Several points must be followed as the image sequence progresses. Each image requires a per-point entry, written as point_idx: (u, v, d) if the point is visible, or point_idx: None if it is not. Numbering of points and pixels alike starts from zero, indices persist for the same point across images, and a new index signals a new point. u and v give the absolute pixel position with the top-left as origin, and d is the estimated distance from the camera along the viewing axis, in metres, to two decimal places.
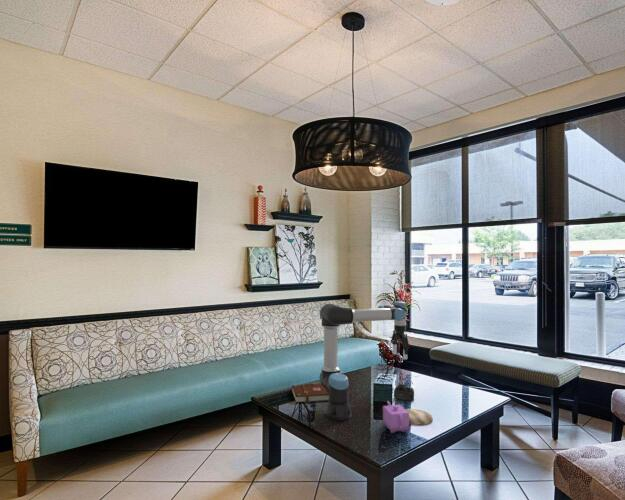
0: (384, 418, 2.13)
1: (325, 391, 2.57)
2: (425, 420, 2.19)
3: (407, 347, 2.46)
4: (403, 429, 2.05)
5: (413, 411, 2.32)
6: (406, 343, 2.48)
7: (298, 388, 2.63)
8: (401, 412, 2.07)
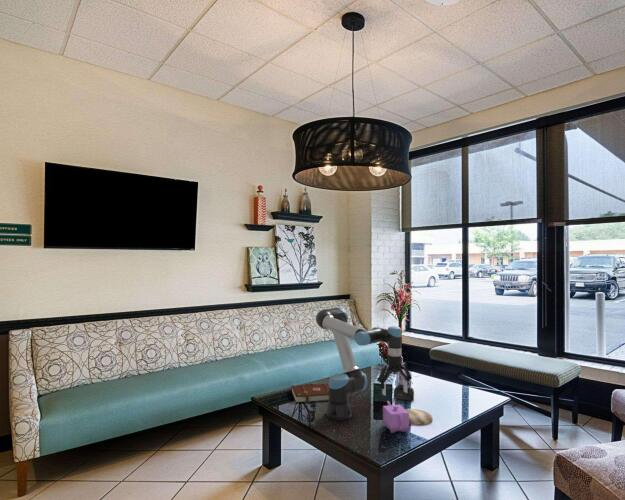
0: (384, 418, 2.13)
1: (324, 391, 2.57)
2: (425, 420, 2.19)
3: (378, 379, 2.10)
4: (403, 429, 2.05)
5: (413, 411, 2.32)
6: (380, 375, 2.11)
7: (298, 388, 2.63)
8: (401, 412, 2.07)
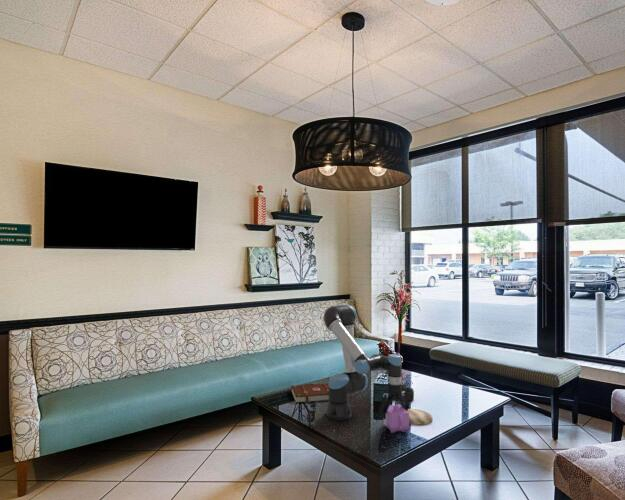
0: None
1: (324, 391, 2.57)
2: (425, 420, 2.19)
3: (380, 409, 2.10)
4: (403, 429, 2.05)
5: (413, 411, 2.32)
6: (381, 405, 2.10)
7: (297, 388, 2.63)
8: (401, 412, 2.07)
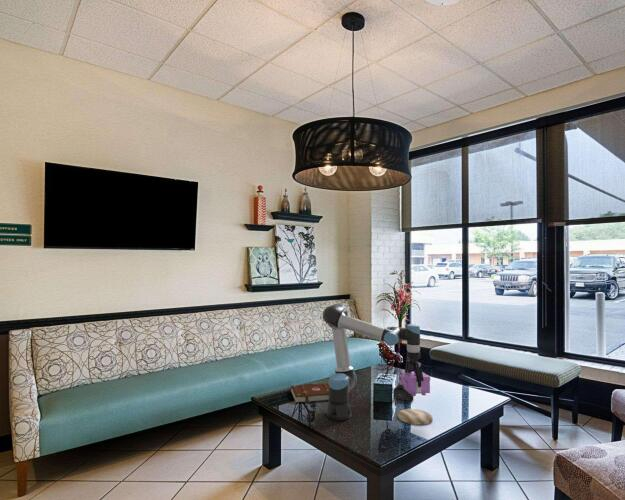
0: (414, 388, 2.19)
1: (324, 391, 2.57)
2: (425, 420, 2.19)
3: (420, 379, 2.16)
4: None
5: (413, 411, 2.32)
6: (420, 374, 2.16)
7: (297, 388, 2.63)
8: (422, 373, 2.26)
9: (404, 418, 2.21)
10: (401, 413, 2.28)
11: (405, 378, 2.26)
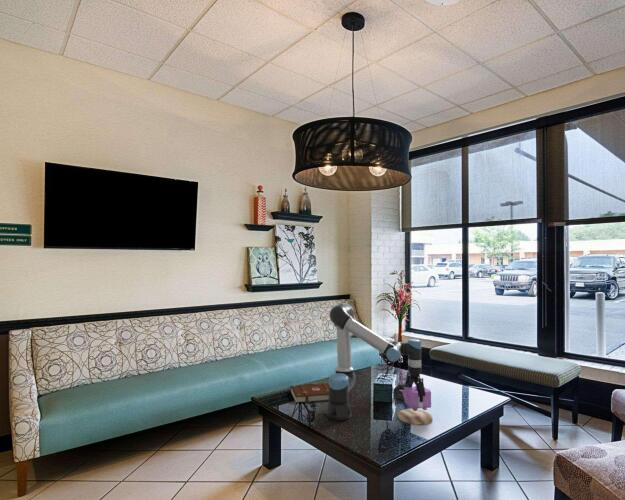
0: (416, 403, 2.20)
1: (324, 391, 2.57)
2: (425, 420, 2.19)
3: (423, 394, 2.17)
4: None
5: (413, 411, 2.32)
6: (422, 389, 2.18)
7: (297, 388, 2.63)
8: None
9: (404, 418, 2.21)
10: (401, 413, 2.28)
11: (406, 393, 2.27)
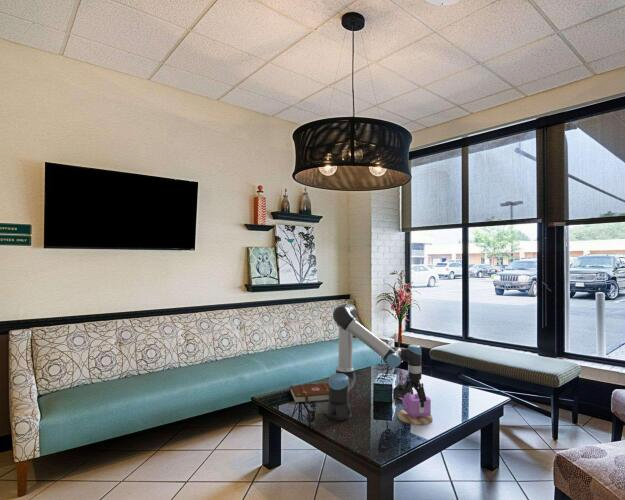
0: (415, 411, 2.20)
1: (323, 391, 2.57)
2: (425, 420, 2.19)
3: (424, 399, 2.16)
4: None
5: None
6: (422, 395, 2.17)
7: (297, 388, 2.63)
8: None
9: (404, 418, 2.21)
10: (401, 413, 2.28)
11: (406, 401, 2.27)
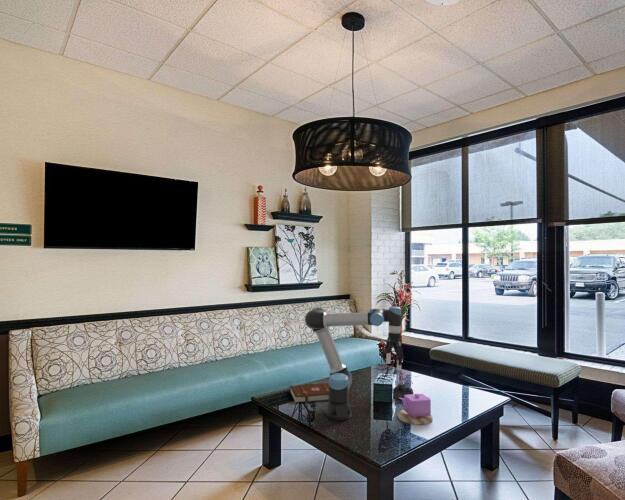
0: (415, 411, 2.20)
1: (323, 391, 2.58)
2: (425, 420, 2.19)
3: (401, 357, 2.25)
4: None
5: None
6: (400, 353, 2.26)
7: (296, 388, 2.63)
8: (422, 395, 2.28)
9: (404, 418, 2.21)
10: (401, 413, 2.28)
11: (406, 401, 2.27)
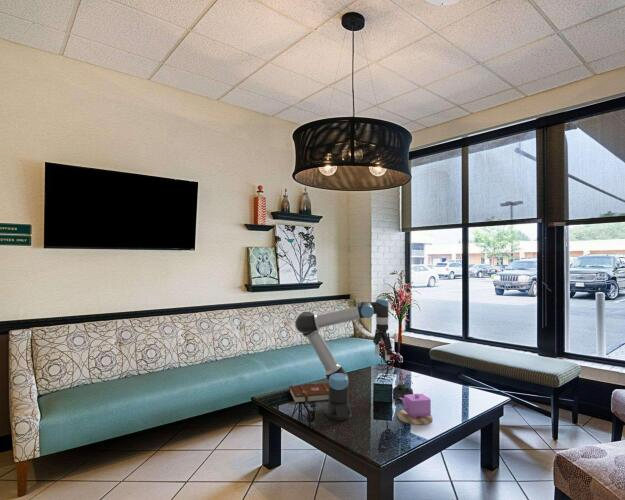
0: (415, 411, 2.20)
1: (323, 391, 2.58)
2: (425, 420, 2.19)
3: (389, 347, 2.30)
4: None
5: None
6: (388, 343, 2.31)
7: (296, 388, 2.63)
8: (422, 395, 2.28)
9: (404, 418, 2.21)
10: (401, 413, 2.28)
11: (406, 401, 2.27)
